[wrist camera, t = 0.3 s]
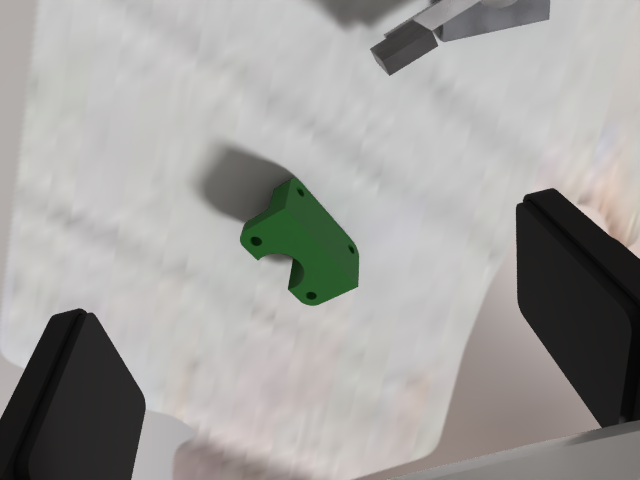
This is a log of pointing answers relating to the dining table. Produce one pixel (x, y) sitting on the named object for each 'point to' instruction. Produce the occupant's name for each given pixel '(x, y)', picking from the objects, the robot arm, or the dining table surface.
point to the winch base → (493, 18)
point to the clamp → (304, 244)
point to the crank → (421, 33)
